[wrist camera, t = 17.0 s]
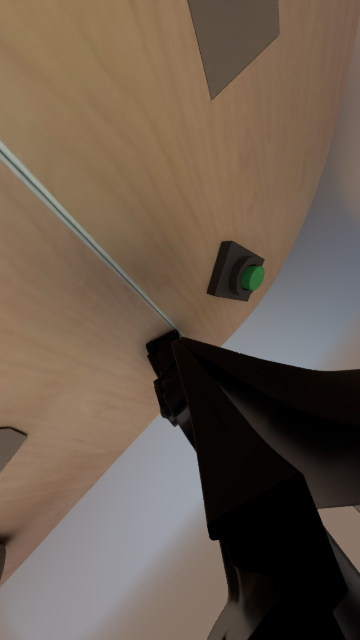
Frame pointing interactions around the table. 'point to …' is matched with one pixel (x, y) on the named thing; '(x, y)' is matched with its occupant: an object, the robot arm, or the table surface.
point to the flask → (9, 445)
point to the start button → (252, 277)
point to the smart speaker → (2, 558)
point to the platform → (232, 35)
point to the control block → (232, 271)
